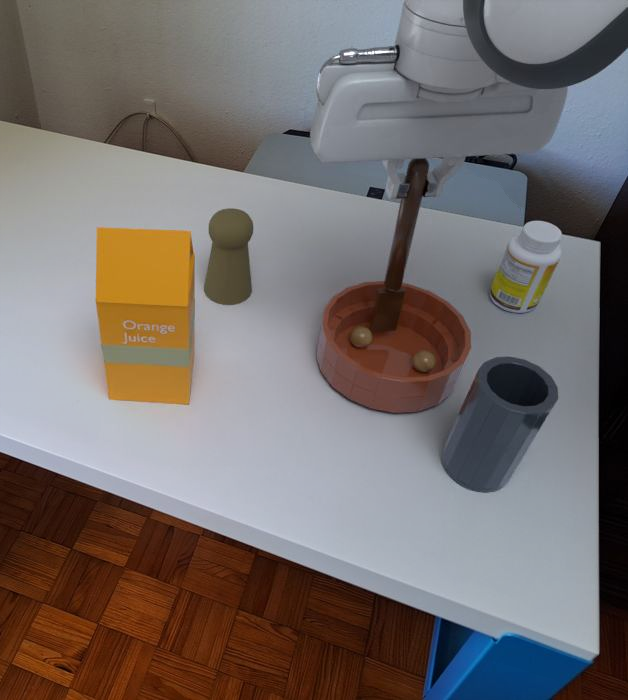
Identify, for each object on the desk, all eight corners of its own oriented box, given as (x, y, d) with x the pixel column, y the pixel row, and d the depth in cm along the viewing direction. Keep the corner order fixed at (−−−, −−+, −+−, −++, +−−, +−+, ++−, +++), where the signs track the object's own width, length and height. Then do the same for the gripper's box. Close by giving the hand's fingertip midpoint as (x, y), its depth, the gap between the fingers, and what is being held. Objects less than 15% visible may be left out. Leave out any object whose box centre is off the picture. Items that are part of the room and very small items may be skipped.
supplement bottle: (529, 285, 85) (561, 216, 77) (542, 316, 81) (577, 246, 73) (482, 283, 85) (510, 215, 78) (493, 314, 81) (523, 245, 74)
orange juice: (119, 348, 79) (102, 202, 65) (195, 353, 78) (195, 206, 64) (108, 400, 74) (87, 254, 59) (189, 406, 73) (188, 258, 59)
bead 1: (366, 337, 79) (371, 322, 77) (371, 352, 77) (377, 337, 75) (345, 336, 78) (350, 321, 77) (350, 352, 77) (355, 337, 75)
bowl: (430, 312, 82) (442, 277, 78) (477, 411, 71) (494, 376, 67) (304, 319, 82) (309, 284, 78) (332, 420, 71) (340, 385, 67)
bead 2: (421, 372, 76) (438, 357, 75) (425, 379, 73) (442, 364, 73) (406, 358, 76) (422, 343, 75) (409, 364, 73) (426, 349, 72)
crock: (495, 436, 69) (538, 354, 60) (521, 490, 65) (572, 410, 56) (432, 439, 69) (466, 358, 60) (454, 494, 65) (494, 415, 56)
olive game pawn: (217, 267, 89) (219, 195, 81) (260, 282, 87) (266, 209, 79) (195, 295, 85) (195, 222, 77) (238, 311, 83) (243, 237, 75)
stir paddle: (393, 322, 77) (433, 150, 61) (397, 334, 76) (439, 161, 60) (368, 325, 77) (401, 153, 62) (372, 336, 76) (407, 164, 60)
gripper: (330, 68, 51) (307, 220, 61) (600, 54, 52) (533, 208, 62) (313, 34, 56) (294, 181, 66) (562, 22, 56) (506, 170, 66)
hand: (412, 194), depth 64 cm, fingers closed on stir paddle, 2 cm apart
